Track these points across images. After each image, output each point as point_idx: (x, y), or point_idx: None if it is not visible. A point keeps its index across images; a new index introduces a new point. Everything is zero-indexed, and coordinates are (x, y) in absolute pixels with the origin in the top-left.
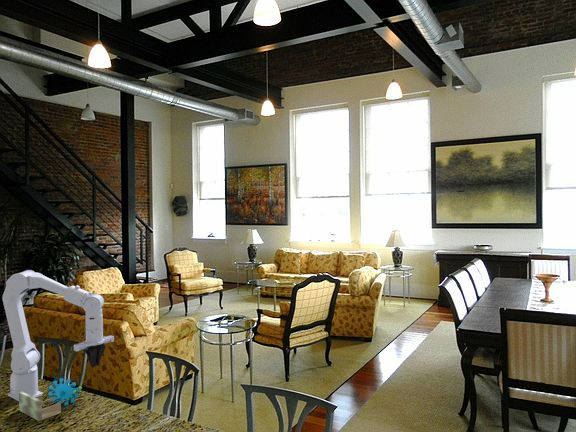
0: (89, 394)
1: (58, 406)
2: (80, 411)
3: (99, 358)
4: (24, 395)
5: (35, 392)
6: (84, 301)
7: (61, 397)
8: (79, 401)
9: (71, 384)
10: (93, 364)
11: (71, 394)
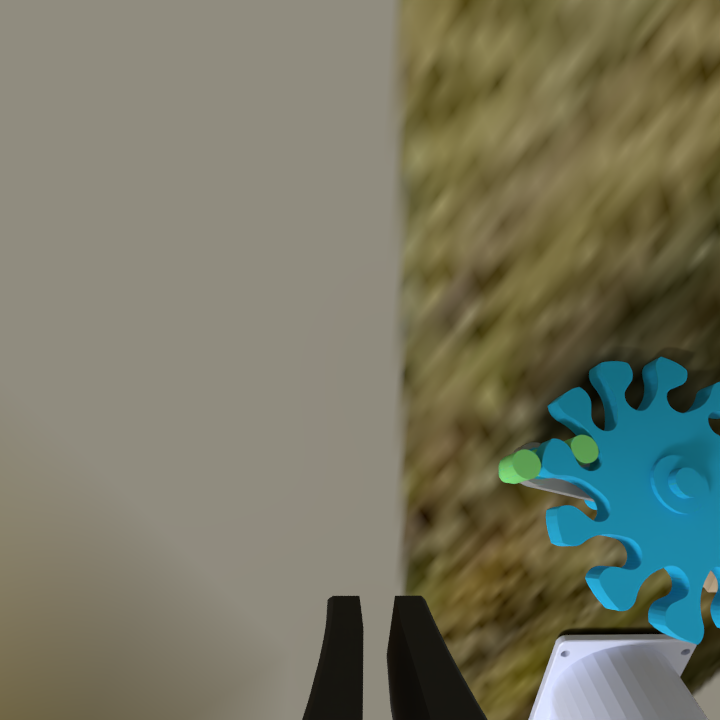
0: (413, 412)
1: None
2: (711, 161)
3: (342, 715)
4: None
5: (608, 665)
6: None
7: (706, 436)
8: (549, 358)
9: (600, 528)
10: (440, 637)
11: (619, 429)
